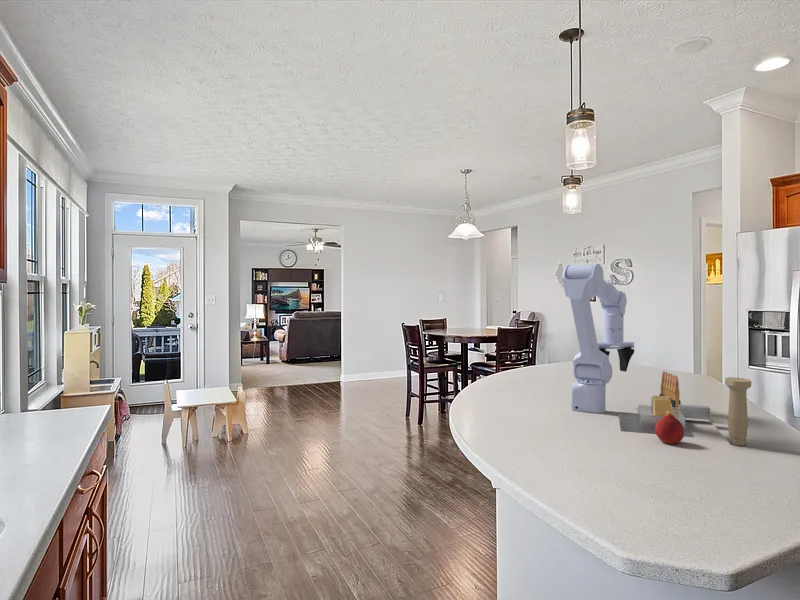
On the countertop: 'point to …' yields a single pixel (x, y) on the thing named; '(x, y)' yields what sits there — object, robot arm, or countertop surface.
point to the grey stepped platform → (648, 420)
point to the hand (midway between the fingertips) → (613, 371)
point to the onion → (669, 429)
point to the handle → (738, 410)
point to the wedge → (661, 405)
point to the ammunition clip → (670, 388)
